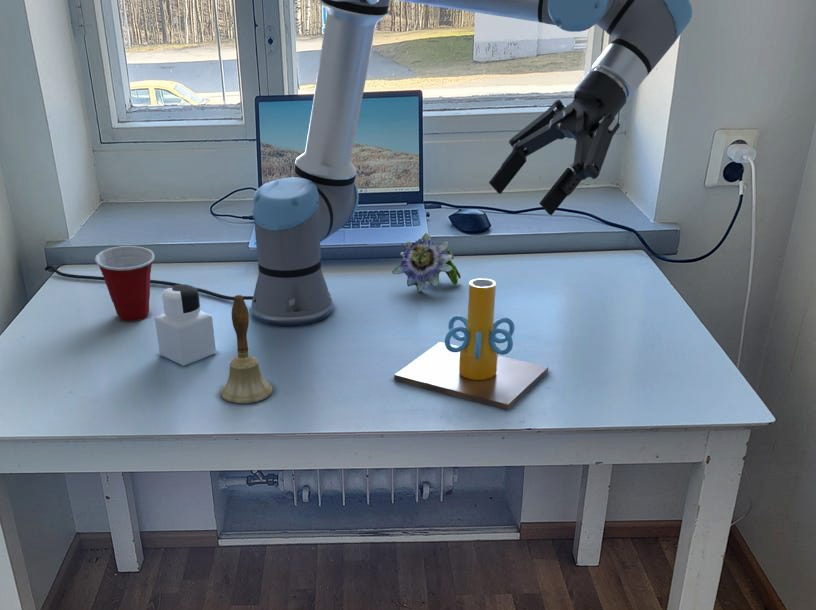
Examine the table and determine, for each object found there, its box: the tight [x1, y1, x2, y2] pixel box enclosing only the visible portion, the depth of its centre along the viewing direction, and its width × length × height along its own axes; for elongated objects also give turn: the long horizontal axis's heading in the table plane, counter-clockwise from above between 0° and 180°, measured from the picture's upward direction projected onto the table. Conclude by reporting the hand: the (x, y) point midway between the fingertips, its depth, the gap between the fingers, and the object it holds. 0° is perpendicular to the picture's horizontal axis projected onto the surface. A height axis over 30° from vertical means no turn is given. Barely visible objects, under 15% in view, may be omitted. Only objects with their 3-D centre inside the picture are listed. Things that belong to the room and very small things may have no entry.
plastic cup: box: [94, 245, 155, 322], centre depth 171 cm, size 11×11×12 cm
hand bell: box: [220, 294, 274, 404], centre depth 142 cm, size 8×8×16 cm
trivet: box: [393, 341, 549, 411], centre depth 148 cm, size 20×15×1 cm
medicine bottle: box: [154, 284, 217, 367], centre depth 156 cm, size 7×7×12 cm
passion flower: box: [392, 232, 462, 293], centre depth 182 cm, size 11×11×12 cm
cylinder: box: [444, 277, 515, 380], centre depth 143 cm, size 12×10×15 cm
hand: (518, 198), depth 142 cm, fingers open, 13 cm apart
